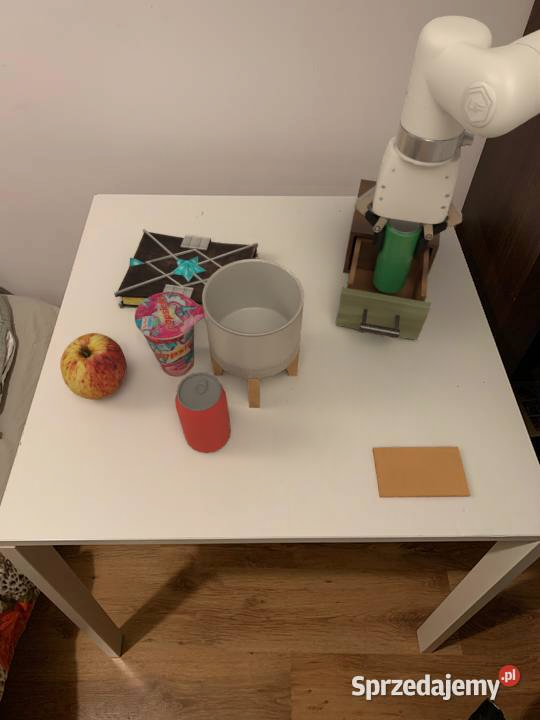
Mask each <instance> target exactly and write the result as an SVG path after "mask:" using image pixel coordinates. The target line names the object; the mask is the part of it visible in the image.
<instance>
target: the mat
mask: <svg viewBox="0 0 540 720" xmlns="http://www.w3.org/2000/svg"><path fill="white" fill-rule="evenodd" d="M372 452H373V459H374V466H375V467H374V468H375V472H376V479H377V485H378V493H379V494H378V495H379V498H380V499H381V498H382V499H384V498H458V497H462V498H463V497H466V498H467V497H470V496H471V492H470V488H469V484H468V481H467V480H468V479H467V477H466V472H465V468H464V464H463V460H462V457H461V452H460V448H459V446H411V447H410V446H409V447H407V446H406V447H404V446H401V447H399V446H398V447H392V446H391V447H389V446H388V447H372Z"/></svg>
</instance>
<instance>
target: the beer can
mask: <svg viewBox="0 0 540 720" xmlns="http://www.w3.org/2000/svg"><path fill="white" fill-rule="evenodd" d="M174 399H175V400H174V404H175V410H176V414H177V416H178V420H179V423H180V426H181V429H182V433H183V435H184V436H183V437H184V439H185V441H186V443H187V445H188V447H190V448H191V449H192V450H194V451H195V452H198V453H202V454H203V453H204V454H210V453H214V452H217V451H219V450H221V449H222V448H223V447H225V445H226V444H227V443H228V441H229V440H230V437H231V432H232V430H231V421H230V413H229V405H228V398H227V392H226V390H225V388H224V387H223V385H222V383H220V380H219V379H218V378H217V377H216V376H215V375H214V374H210V373H208V372H203V371H202V372H201V371H198V372H193V373H191V374H189V375H186V376H185V377H184V378H183V379H181V381H180V382H179V384H178V386H177V388H176V394H175V398H174Z"/></svg>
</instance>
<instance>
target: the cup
mask: <svg viewBox="0 0 540 720" xmlns="http://www.w3.org/2000/svg"><path fill="white" fill-rule="evenodd" d="M203 318H205V315H204V309H203V308H202V307H201V306H200V305H198V304H197V303H196V302H194V301H193V300H192V299H190V298H188V297H187V296H185V295H183V294H180V293H176V292H162V293H158V294H154V295H152V296H150V297H148V298H146V299H145V300H144V301H143V302H142V303H141V304H140V305H139V306H138V307H136V310H135V312H134V322H135V325H136V327H137V329H138V330H139V331H140V332H141V333H142V335H143V336H144V338H145V341H146V343H147V344H148V346H149V348H150V350H151V351H152V353H153V355H154V357H155V359H156V360H157V361H158V363H159V365H160V367H161V368H162V369H161V370H163V372H164V373H165V374H167V375H168V376H171V377H181V376H185V375H186V374H188V373H189V372H190V371H192V369H193V368H194V364H195V325H196V324H197V323H198V322H199V321H201V320H202V319H203Z"/></svg>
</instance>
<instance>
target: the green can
mask: <svg viewBox="0 0 540 720" xmlns="http://www.w3.org/2000/svg"><path fill="white" fill-rule="evenodd" d="M421 231H422V224H421V223H419V222H412V221H405V220H399V219H392V218H389V220H388V221H387V223H386V225H385V230H384V236H383V240H382V245H381V249H380V253H379V254H378V259H377V263H376V267H375V271H374V275H373V284H374V286H375V287H376V288H377V289H378V290H380V291H382V292H385V293H396V292H399V291H400V290H402V289H403V287H404V285H405V282H406V278H407V275H408V272H409V269H410V266H411V262H412V259H413V256H414V253H415V250H416V247H417V243H418V240H419V237H420V234H421Z"/></svg>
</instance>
